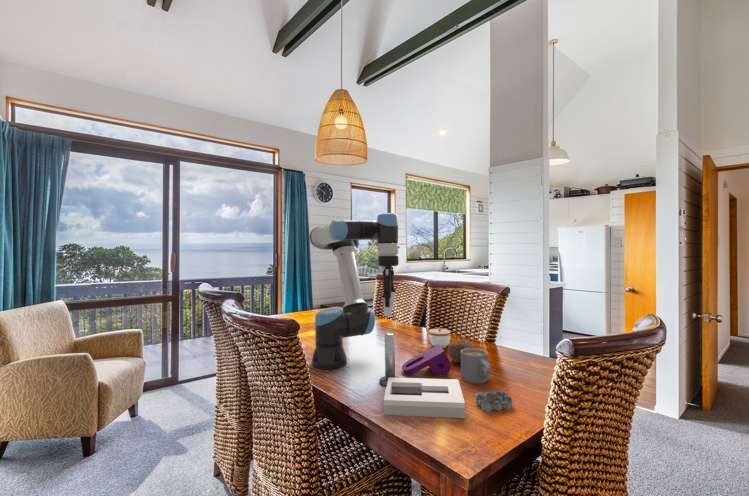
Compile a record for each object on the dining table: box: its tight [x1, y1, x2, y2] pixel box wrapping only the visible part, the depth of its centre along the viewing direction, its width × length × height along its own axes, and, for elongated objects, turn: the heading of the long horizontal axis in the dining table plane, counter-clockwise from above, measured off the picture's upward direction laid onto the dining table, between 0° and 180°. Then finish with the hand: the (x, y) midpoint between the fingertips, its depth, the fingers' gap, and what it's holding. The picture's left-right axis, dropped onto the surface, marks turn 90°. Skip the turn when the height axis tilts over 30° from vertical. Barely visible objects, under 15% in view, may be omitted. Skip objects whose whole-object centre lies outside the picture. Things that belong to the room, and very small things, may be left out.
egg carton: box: [474, 389, 515, 413], centre depth 112 cm, size 11×8×4 cm
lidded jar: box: [428, 327, 452, 349], centre depth 176 cm, size 11×11×9 cm
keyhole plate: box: [383, 377, 466, 419], centre depth 115 cm, size 24×18×4 cm
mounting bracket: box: [401, 344, 452, 377], centre depth 143 cm, size 9×8×18 cm
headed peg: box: [379, 332, 400, 387], centre depth 132 cm, size 8×8×18 cm
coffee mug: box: [460, 347, 491, 384], centre depth 133 cm, size 13×10×10 cm
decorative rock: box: [447, 339, 476, 364], centre depth 153 cm, size 13×11×10 cm
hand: (389, 312), depth 132 cm, fingers open, 13 cm apart
